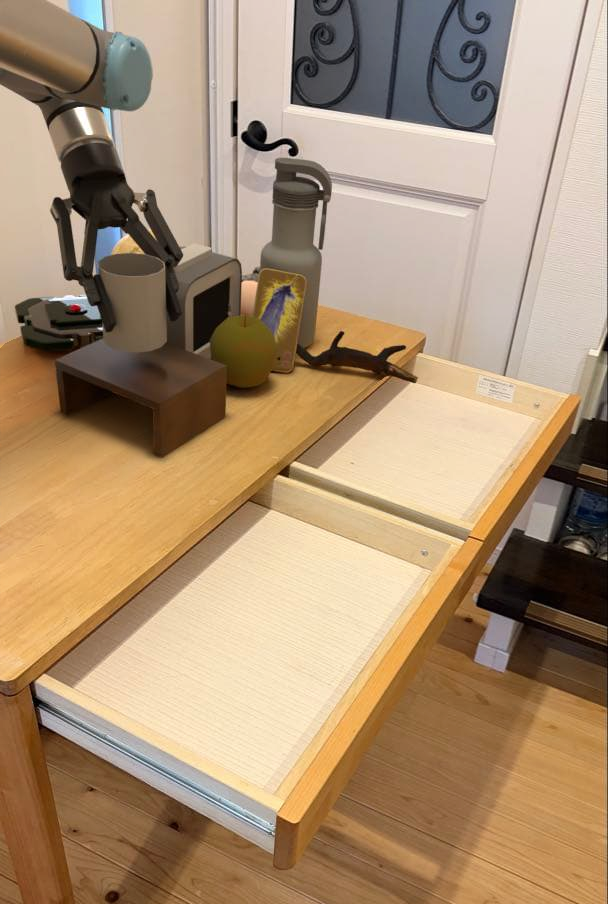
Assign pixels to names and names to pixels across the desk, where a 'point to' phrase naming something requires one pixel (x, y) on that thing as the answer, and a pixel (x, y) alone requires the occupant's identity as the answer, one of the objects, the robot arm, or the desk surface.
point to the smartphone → (281, 311)
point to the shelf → (148, 387)
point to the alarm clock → (203, 297)
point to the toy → (357, 359)
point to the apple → (244, 350)
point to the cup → (135, 301)
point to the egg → (248, 297)
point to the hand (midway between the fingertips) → (144, 322)
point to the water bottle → (298, 232)
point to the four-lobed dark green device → (59, 322)
